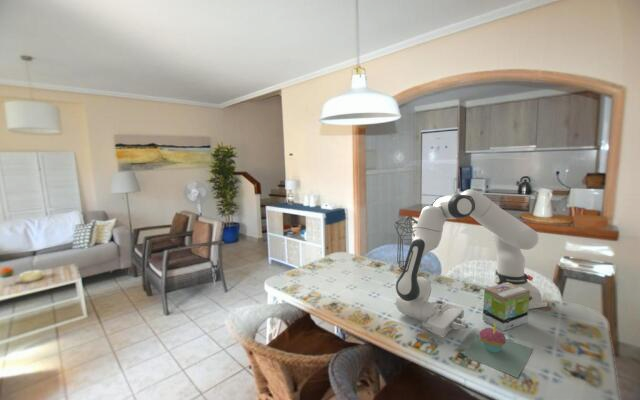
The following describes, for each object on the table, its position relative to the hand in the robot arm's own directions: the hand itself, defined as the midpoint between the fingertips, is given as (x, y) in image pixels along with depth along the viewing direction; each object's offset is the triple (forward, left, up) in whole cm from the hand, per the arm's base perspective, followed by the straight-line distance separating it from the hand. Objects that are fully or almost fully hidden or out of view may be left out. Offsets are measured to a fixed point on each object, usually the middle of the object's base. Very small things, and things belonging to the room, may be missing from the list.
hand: (466, 327), depth 115 cm
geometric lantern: (+4, -70, -5) cm, 70 cm away
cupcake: (-7, +6, -5) cm, 10 cm away
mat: (-7, +7, -5) cm, 11 cm away
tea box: (-21, -12, -5) cm, 25 cm away
